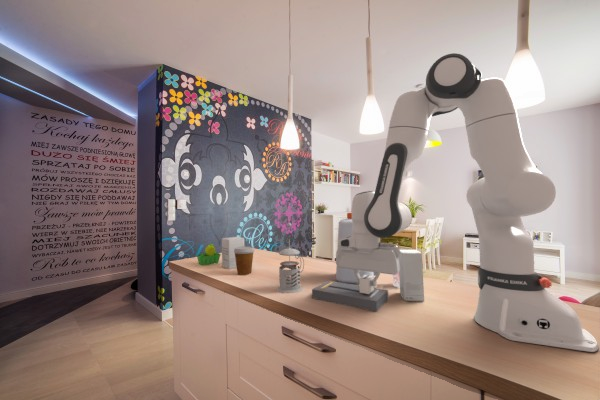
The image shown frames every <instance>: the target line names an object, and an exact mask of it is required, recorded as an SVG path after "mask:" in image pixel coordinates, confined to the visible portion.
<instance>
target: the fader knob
mask: <svg viewBox="0 0 600 400" xmlns="http://www.w3.org/2000/svg"><path fill="white" fill-rule="evenodd" d="M374 278H375V276H370V275H364V276H362V277H361V278H359V284H358V285H359V286H360V293H365V294H370V293H371V292H372V291H373V290H374V288H375V286H371V285H370V284H371V283H370V280H372V279H374Z"/></svg>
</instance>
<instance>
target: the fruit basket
mask: <svg viewBox="0 0 600 400" xmlns="http://www.w3.org/2000/svg"><path fill="white" fill-rule="evenodd" d="M204 251H205V253H200V254H196V257H197V262H198V264H199V265H200V266H208V265H214V263H216V264H219V262H220V257H221V256H222V253H219V252H216V247H215V244H214V243H209V244H208V245H207V246H206V247H205V249H204Z"/></svg>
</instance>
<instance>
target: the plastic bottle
mask: <svg viewBox="0 0 600 400" xmlns="http://www.w3.org/2000/svg"><path fill="white" fill-rule="evenodd" d="M352 229H353V222H352V212H347V213H346V218H343V219H341V220H340V221H338V230H337V232H338V233H337V235H338V236H337V242H338V241H339V240H341V239H344V238H347V237H349V236H352ZM339 247H340V246H338V245H337V249H338V248H339ZM337 249H336V250H337ZM335 269H336V271H335V272H336V273H335V278H336V280H337V282H341V283H347V284H353V285H358V284H357V278H356V276H355V275H354V270H353V269H345V268H338V266H337V265H336V268H335ZM359 275H360V277H362V276H364V275H370V276H374V272H368V271H361V270H360V272H359ZM374 277H375V276H374Z"/></svg>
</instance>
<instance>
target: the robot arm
mask: <svg viewBox="0 0 600 400" xmlns="http://www.w3.org/2000/svg"><path fill="white" fill-rule="evenodd" d="M482 78H483V73H482V72H481V70H479V69H478V68H477V67H476V66H475V65H474V64H473V63H472V61H471V60H470V59H469V58H467V56H465V55H463V54H461V53H448V54H445V55H443V56H441V57H440V58H438V59H437V60H436V61H434V63H433V64H432V65H431V66H430V68H429V70H428V71H427V74H426V78H425V86H424V87H423V88H421V89H420V90H417V91H416V90H412V91H411V90H410V91H406V92H404V93H403V94H401V95H400V96H398V98H397V99H396V101H395V104H394V106H393V110H392V112H391V116H390V120H389V125H388V130H387V136H386V137H387V138H386V143H385V149H384V152H383V158H382V162H381V165H380V169H379V173H378V177H377V181H376V186H375V191H374V190H367V191H362V192H358V193H357V194H355V195H354V196H353V198H352V204H351V213H352V222H353V229H352V236H349V237H347V238H344V239H341V240H339V241H338V240H337V248H338V246H340V247H339V248H338V249H336V254H335V264H336V265H335V266H336V267H337V266H338V268H345V269H353V270H354V275H355V276H356V278H357V284H356V285H359V278H361V277H360V275H359V272H360V270H361V271H368V272H374V279H372V280H370V283H371V284H370V285H371V286H374V287H377V283H378V282H377V281H378V279H379V276H380V275H381V274H384V275H392V276H393V275H396V274H397V273H398V272H399V271H400V265H399V258H398V257H399V255H400V250H401V249H400V248H399V246H397V245H396V244H395V243H391V242H390V243H389V242H388V243H387V242H381V239H387V238H391V237H393V236H394V235H396V234H399V233H400V232H403V231H405V229H407V228H408V227H409V226H410V224H411V222H412V218H413V215H412V211H411V209H410V207H408V206H407V205H406V204H405V203H403V202H400V201H399V199H400V198H399V197H400V192H401V189H402V184H403V181H404V176H405V173H406V170H407V169H408V167H409V166H410V165H411V163H413V162H414V161H415V160H417V159H418V158H419V157H421V155H422V154H423V152H424V150H425V146H426V144H427V140H428V135H429V129H430V123H431V119H432V117H435V116H440V115H444V114H449V113H451V112H454V111H455V110H457V109H459V110H460V111H461V113H462V116H463V117H464V123H465V129H466V135H467V141H468V142H467V143H468V146H469V153H470V156H471V158H472V159H473V160H475V162H476V163H477V164H478V167H479V169H480V171H481V173H482V175H483V177H482V178H481V177H480V178H479V179H478V180H476V181H475V182H473V183H472V184H471V185H470V186H469V188H468V189H467V190H466V201H467V203H468V205H469V206H470V207H471V211H472V215H473V218H474V223H475V227H476V230H477V236H478V244H479V245H478V247H479V266H478V269H477V285H478V288H479V293H478V294H479V295H478V300H477V301H478V302H477V305H476V306H477V307H476V311H475V314H474V316H473V319H474V321H475V322H476V323H478V324H479V325H480V326H482V327H484V328H485V329H487V330H490V331H493V332H495V333H497V334H498V335H500V336H502V337H503V338H505V339H507V340H510V341H515V342H522V343H527V344H536V345H541V346H542V345H543V346H547V347H549V346H550V347H553V348H554V347H555V348H562V349H569V350H576V351H580V352H581V351H583V352H590V353H594V352H597V351H598V349H599V345H598V342H597V340H596V338H595V337H594V335H592V334H591V332H589V331H588V330H586V329H585V328H583V327H582V323H581V321H580V318H579V316H578V314H577V312H576V311H575V310H574V309H573V308H572V307H571V306H570V305H569V304H567V303H566V302H565V301H563V300H561V299H560V298H559V297H557V296H556V295H554V294H553V293H551V291H549V290H547V289H550V288H551V287H552V286H553V283H552V281H551V280H550V279H549V278H547V277H545V276H543V275H542V274H540V273H538V272H536V271H535V254H534V253H535V249H534V248H535V247H534V240H533V238H532V237H531V235H530V234H529V233H528V232H527V230H526V228H525V226H524V224H523V221H522V218H523V217H528V216H529V217H530V216H532V215H536V214H539V213H542V212H545V211H546V210H547V209H549V208H550V207H551V206H552V204H554V201H555V199H556V193H557V190H556V187H555V183H553V181H552V180H551V178H550V177H548V176H547V175H546V174H544V173H542V171H540V170H539V169H538V168H537V166H536V165H535V163H534V162H533V160H532V158H531V157H530V155H529V153H528V151H527V149H526V147H525V144H524V142H523V141H524V140H523V137H522V131H521V126H520V123H519V122H520V121H519V118H518V112H517V107H516V104H515V100H514V98H513V95H512V93H511V90H510V87H509V86H508V84H507V82H506V81H505V80H503V78H500V77H490V78H485V79H482ZM399 249H400V250H399Z"/></svg>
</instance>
